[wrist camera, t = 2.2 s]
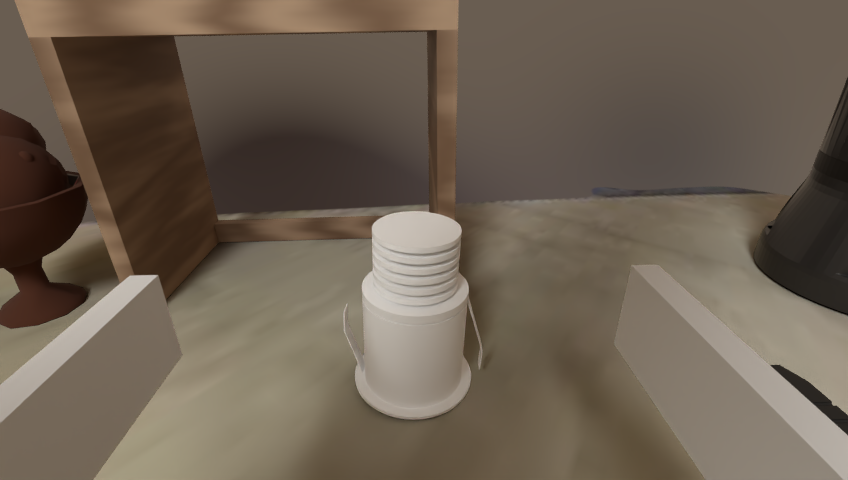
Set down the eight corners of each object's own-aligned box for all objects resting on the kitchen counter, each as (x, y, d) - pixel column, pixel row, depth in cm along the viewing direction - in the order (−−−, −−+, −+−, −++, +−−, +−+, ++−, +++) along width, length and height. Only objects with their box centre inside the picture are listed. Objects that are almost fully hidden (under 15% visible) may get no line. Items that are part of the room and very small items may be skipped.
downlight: (334, 419, 23) (321, 255, 19) (358, 337, 30) (352, 200, 25) (482, 427, 23) (503, 264, 19) (474, 343, 29) (488, 206, 25)
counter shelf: (441, 231, 45) (441, -2, 36) (453, 307, 33) (458, -22, 23) (210, 238, 45) (151, 3, 36) (133, 318, 32) (9, -15, 23)
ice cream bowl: (-61, 312, 33) (-182, 113, 27) (106, 260, 41) (43, 94, 34) (-50, 376, 27) (-204, 134, 20) (146, 300, 34) (78, 105, 28)
